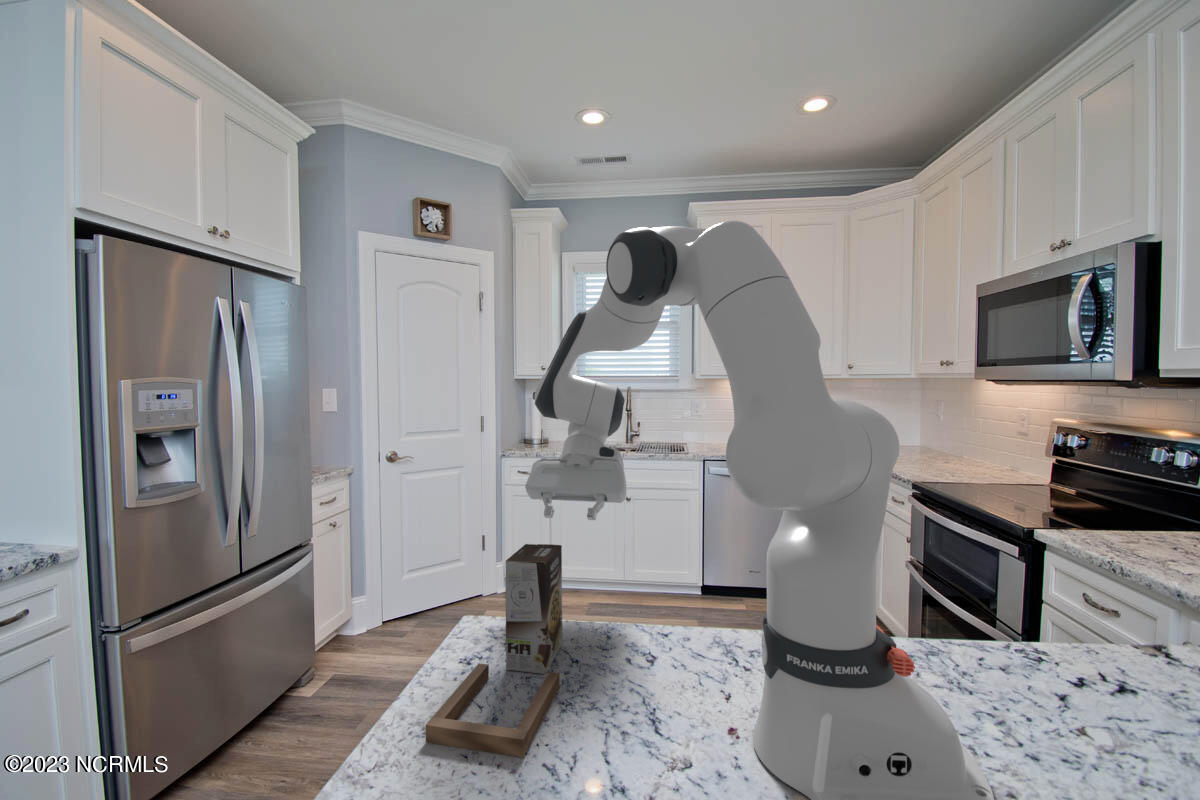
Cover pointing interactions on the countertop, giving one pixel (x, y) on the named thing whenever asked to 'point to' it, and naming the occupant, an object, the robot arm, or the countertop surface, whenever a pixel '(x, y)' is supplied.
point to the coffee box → (533, 607)
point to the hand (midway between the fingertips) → (569, 517)
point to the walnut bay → (489, 737)
